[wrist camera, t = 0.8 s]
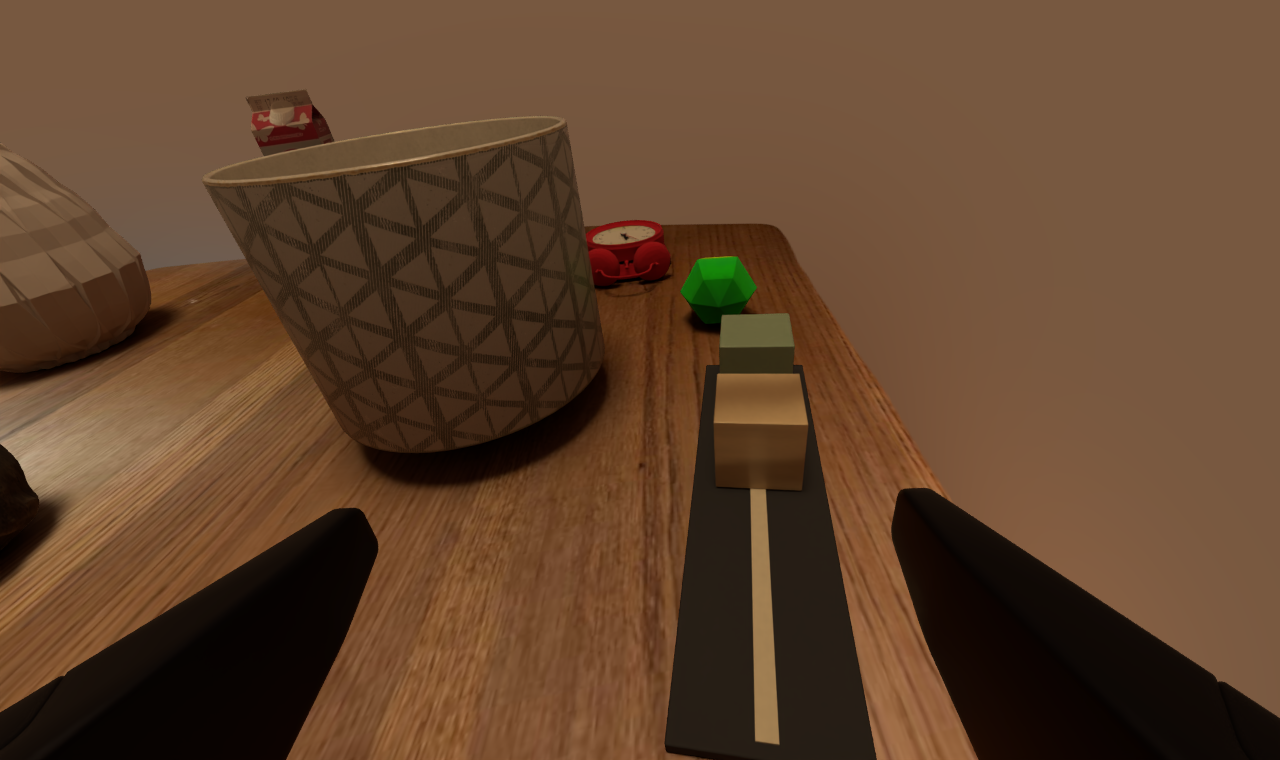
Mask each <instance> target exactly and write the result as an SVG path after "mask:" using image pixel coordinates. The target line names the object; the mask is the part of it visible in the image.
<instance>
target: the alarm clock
mask: <svg viewBox="0 0 1280 760" xmlns="http://www.w3.org/2000/svg"><path fill="white" fill-rule="evenodd" d="M586 240H587V246H588V252H589V258H590V264H591V270H592V276H593V282H594V285H597V286H609V285H611V284H613V283H614V282H616V280H622V279H631V278H637V277H640V278H642V279H644V280H648V281H652V280H656V279H659V278H661V277H662V276H663V275H665V273H666V272H667V271H668V269H669V265H670V259H671V258H670V253H669V251H668V250H667V248H666V246H665V244H664V235H663V229H662V227H661V225H660V224H658V223H655V222H652V221H645V220H630V221H620V222H614V223H610V224H606V225H603V226H600V227H597V228H595V229H593V230H591V231H589V232H588V233H587V234H586Z"/></svg>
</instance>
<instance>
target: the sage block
mask: <svg viewBox="0 0 1280 760" xmlns="http://www.w3.org/2000/svg"><path fill="white" fill-rule="evenodd" d="M794 348H795V346H794V340H793V335H792V329H791V323H790V317H789V314H747V315H722V318H721V331H720V344H719V357H720V374H793V362H794Z"/></svg>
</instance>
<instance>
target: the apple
mask: <svg viewBox="0 0 1280 760" xmlns="http://www.w3.org/2000/svg"><path fill="white" fill-rule="evenodd" d="M756 288H757V287H756V285H755V283H754V282H753V280H752V279H751V277H750V276H749V274H748V273H747V271H746V269H745V268H744V266H743V265H742V263H741V262H740V260H739V259H738V257H733V256H727V257H712V258H702V259H698V260H697V261H696V263H695V265H694V267H693V269H692V271H691V272H690V274H689V276H688V278H687V280H686V282H685V284H684V285H683V287H682V289H681V291H680V292H681V294H682V295H683V296H684V298H685V299H686V300H687V302H688V303H689V305H690V306H691V307H692V309H693V310H694V311H695V313H696V314H697V316H698V317H699V318H700V320H702V321H703V322H704V323H705V324H712V323H721V318H722V315H740V313H741V312H742V310H743V308H744V307H745V305H746V304H747V302H748V301H749V299H750V298H751V296H752V294H753V293H754V291H755V290H756Z"/></svg>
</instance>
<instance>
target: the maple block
mask: <svg viewBox="0 0 1280 760" xmlns="http://www.w3.org/2000/svg"><path fill="white" fill-rule="evenodd" d="M807 433H808V420H807V414H806V409H805V403H804V397H803V391H802V386H801V380H800V375H799V374H717V384H716V397H715V410H714V450H715V478H716V487H733V488H754V489H775V490H797V491H801V490H802V484H803V473H804V463H805V453H806V443H807Z"/></svg>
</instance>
